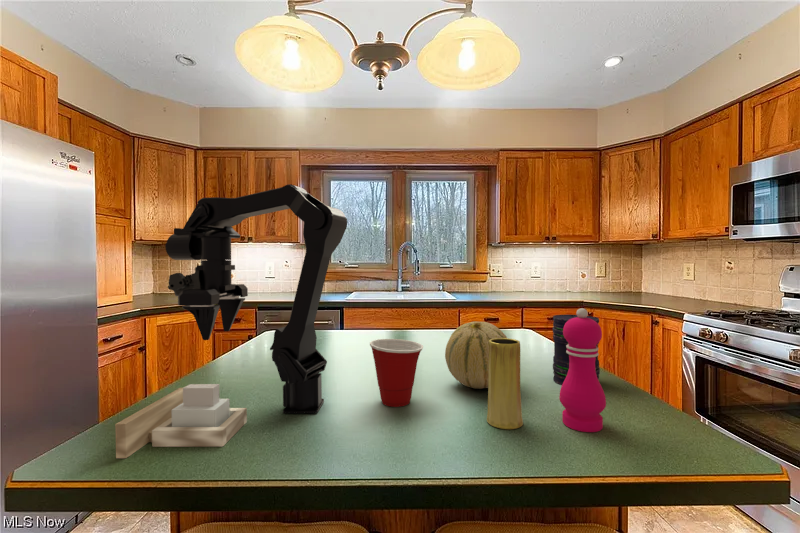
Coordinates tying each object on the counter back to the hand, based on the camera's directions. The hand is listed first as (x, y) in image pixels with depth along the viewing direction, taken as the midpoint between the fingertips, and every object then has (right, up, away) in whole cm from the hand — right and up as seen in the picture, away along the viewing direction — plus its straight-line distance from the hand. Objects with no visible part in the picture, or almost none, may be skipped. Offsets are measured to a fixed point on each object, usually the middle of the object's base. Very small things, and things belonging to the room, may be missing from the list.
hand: (216, 335), depth 80 cm
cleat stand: (+4, -13, -16) cm, 21 cm away
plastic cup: (+38, -13, -3) cm, 40 cm away
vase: (+56, -13, -13) cm, 59 cm away
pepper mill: (+69, -13, -14) cm, 72 cm away
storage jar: (+79, -13, +9) cm, 80 cm away
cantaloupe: (+56, -13, +6) cm, 57 cm away
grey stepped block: (+5, -14, -16) cm, 22 cm away
